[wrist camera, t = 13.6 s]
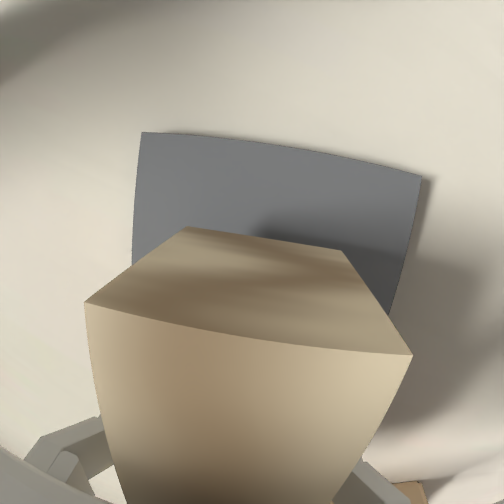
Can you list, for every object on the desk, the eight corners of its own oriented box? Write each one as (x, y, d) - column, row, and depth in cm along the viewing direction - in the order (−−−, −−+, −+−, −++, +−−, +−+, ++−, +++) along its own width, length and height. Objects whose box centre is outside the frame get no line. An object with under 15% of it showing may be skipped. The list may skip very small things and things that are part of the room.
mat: (412, 175, 12) (421, 176, 11) (315, 466, 17) (316, 478, 16) (151, 134, 12) (141, 131, 11) (148, 439, 17) (143, 450, 16)
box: (341, 250, 10) (413, 355, 4) (274, 474, 13) (269, 572, 7) (187, 226, 10) (84, 301, 4) (178, 458, 13) (147, 551, 8)
